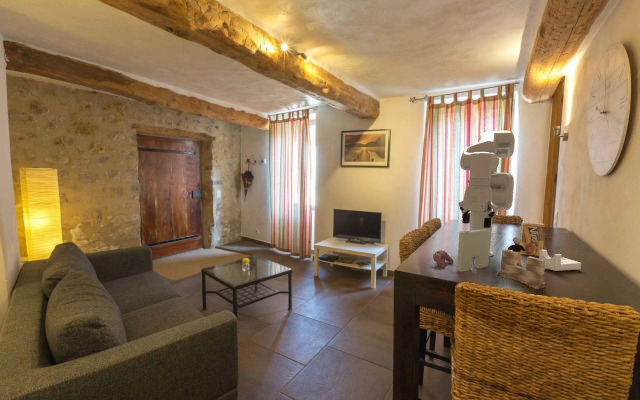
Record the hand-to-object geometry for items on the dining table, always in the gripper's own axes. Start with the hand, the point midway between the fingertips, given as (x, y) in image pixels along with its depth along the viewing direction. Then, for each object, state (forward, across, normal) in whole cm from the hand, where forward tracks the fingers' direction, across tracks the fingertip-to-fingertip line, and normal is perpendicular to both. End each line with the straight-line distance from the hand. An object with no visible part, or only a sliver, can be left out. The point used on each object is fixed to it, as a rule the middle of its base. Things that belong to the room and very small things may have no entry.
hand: (475, 225), depth 117 cm
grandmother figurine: (+18, +4, +22) cm, 29 cm away
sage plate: (+18, 0, +1) cm, 18 cm away
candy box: (+18, -4, +45) cm, 48 cm away
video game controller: (+19, -9, -7) cm, 22 cm away
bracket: (+18, +13, +35) cm, 42 cm away
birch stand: (+18, +16, +6) cm, 25 cm away
